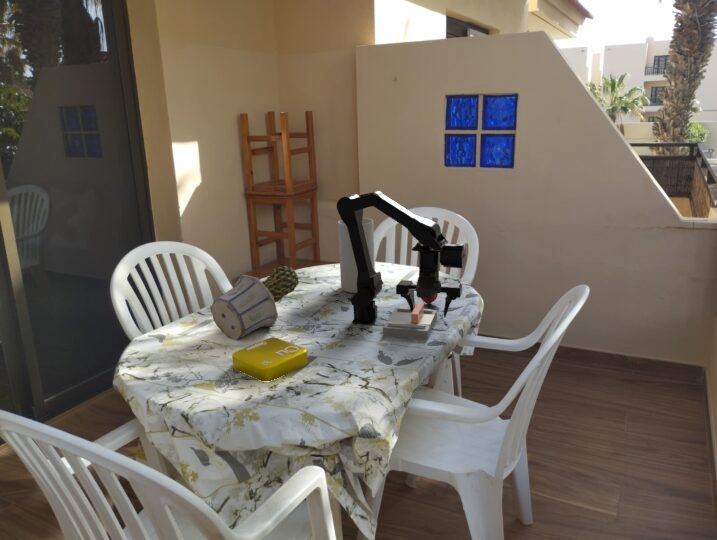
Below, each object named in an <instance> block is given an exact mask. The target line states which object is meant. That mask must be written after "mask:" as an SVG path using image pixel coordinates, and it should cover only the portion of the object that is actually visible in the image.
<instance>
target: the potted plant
mask: <svg viewBox="0 0 717 540" xmlns="http://www.w3.org/2000/svg"><path fill="white" fill-rule="evenodd" d="M299 284H300V283H299V275H298V273H297V272H296V270H294V269H293V267H288V266H286V265H282V266H278V267H277V268H275V267H274V268H272V272H271V273H270V275H269V276H267V277H266V279H265V280H263V281H262V280H260V279H259V278H258V277H255V276H252V275H247V274H242V275H240V277H239V278H238V279H237V281H236V283H235V284H234V286H233V287H232V288H231V289H229V290H228V291H226V292H224V293H223V294H222V295H220V296H218V297H217V298H215V300H213V302H212V305H211V306H210V313H211V315H212V318H213V322H214V323H215V325H216V326H217V328H219V329H220V330H221V332H222V333H223V334H225V336H227V338H229V339H232V338H233V339H232V340H236V339H237V340H239V339H241V338H243V337H245V336H247V335H248V334H250V333H252V332H253V331H255V330H258V329H260V328H263V327H265V328H272V327H273V326H274V325H275V323H276V321H278V318H279V314H278V310H277V305H276V303H278V302H279V301H281V300H282V299H283V297H286V296H288V294H291V293H292V292H294V291H295V289H296V288H297V286H298V285H299Z"/></svg>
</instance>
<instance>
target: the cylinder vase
mask: <svg viewBox="0 0 717 540" xmlns="http://www.w3.org/2000/svg"><path fill="white" fill-rule="evenodd" d="M362 225H363V229H364V233H365V238H366V242H367V246H368V250H369V255H370V259H371V263H372V267H373V269H374V270H375V271H376V267H375V266H376V265H375V262H376V261H375V235H374V232H375V231H374V219H371V218H369V217H363V218H362ZM337 227H338V228H337V229H338V231H337V232H338V248H339V252H338V253H339V269H340V270H339V271H340V288H341V290H342V291H343V292H347V293H349V294H356V293H357V275H358V270H357V266H356V262H355V258H354V254H353V250H352V245H351V241H350V237H349V233H348V229H347V226H346V225H345V223H344V222H343V221H342V220H341V219H340V220H338V221H337Z"/></svg>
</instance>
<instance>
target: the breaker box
mask: <svg viewBox="0 0 717 540" xmlns="http://www.w3.org/2000/svg"><path fill="white" fill-rule="evenodd" d="M411 313H412V312H411V309H410V307H400V306H399V307H395V308H394V310H393V312H392V313H391V314H390V316H389V318H388V319H387V321H386V322H385V324H384V325H383V327H382V336H385V337H395V338H407V339H418V340H419V339H422V340H428V339H429V336H430V335H431V332H432V330H433V327H434V325H435V323H436V321H437V318H438V311H437V309H430V308H429V309H428V308H424V313H423V315H422V317H421V319H420V321H419V323H418V324H415V323H411Z"/></svg>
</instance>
